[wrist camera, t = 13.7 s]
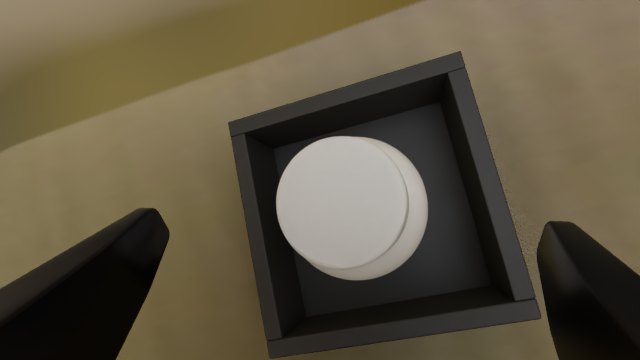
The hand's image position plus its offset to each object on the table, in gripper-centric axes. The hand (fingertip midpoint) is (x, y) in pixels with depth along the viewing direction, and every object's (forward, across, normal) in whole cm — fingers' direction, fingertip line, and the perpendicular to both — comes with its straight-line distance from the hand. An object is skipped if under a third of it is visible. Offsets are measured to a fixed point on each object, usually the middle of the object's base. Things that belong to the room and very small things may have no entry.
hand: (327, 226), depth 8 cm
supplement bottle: (+9, 0, +8) cm, 12 cm away
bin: (+9, 0, +8) cm, 12 cm away
